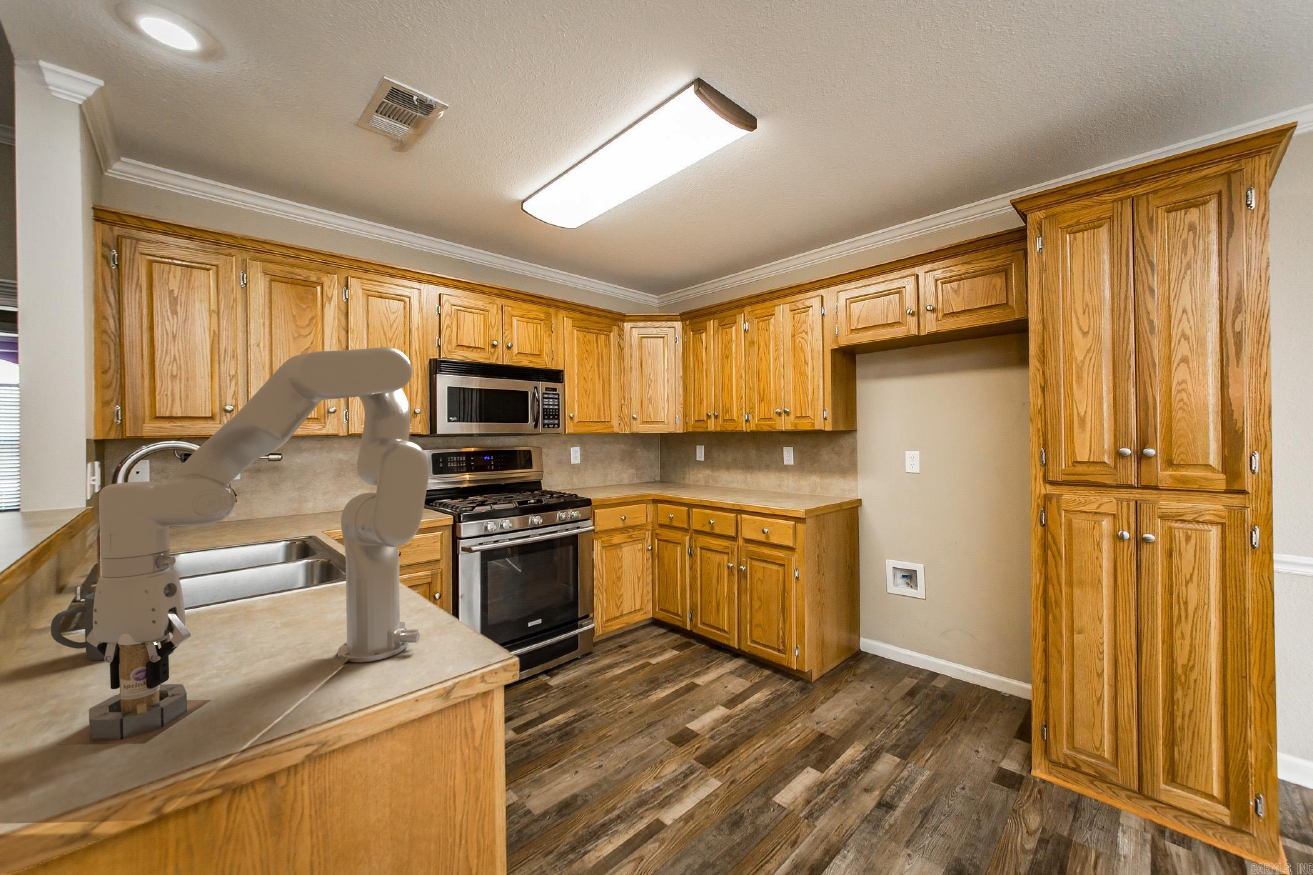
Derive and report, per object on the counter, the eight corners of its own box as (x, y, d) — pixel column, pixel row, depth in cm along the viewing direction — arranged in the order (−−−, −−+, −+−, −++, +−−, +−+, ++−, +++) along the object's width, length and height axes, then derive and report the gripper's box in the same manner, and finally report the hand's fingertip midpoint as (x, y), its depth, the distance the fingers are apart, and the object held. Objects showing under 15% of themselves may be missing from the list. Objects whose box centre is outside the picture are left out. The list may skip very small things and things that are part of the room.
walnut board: (211, 704, 89) (211, 699, 89) (144, 748, 77) (144, 742, 77) (135, 705, 88) (135, 700, 88) (56, 749, 76) (56, 744, 76)
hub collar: (202, 702, 88) (202, 678, 88) (143, 739, 78) (143, 713, 77) (135, 703, 88) (135, 679, 88) (67, 741, 77) (66, 714, 77)
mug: (141, 638, 116) (140, 582, 116) (156, 648, 111) (154, 589, 111) (46, 662, 104) (44, 599, 104) (57, 674, 99) (55, 608, 99)
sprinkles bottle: (127, 726, 80) (124, 635, 79) (114, 718, 82) (112, 629, 81) (166, 711, 84) (164, 624, 83) (153, 704, 86) (151, 619, 85)
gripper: (213, 557, 86) (216, 672, 87) (103, 558, 86) (106, 674, 86) (173, 570, 79) (177, 696, 79) (51, 572, 78) (56, 698, 79)
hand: (140, 683), depth 83 cm, fingers closed on sprinkles bottle, 4 cm apart
